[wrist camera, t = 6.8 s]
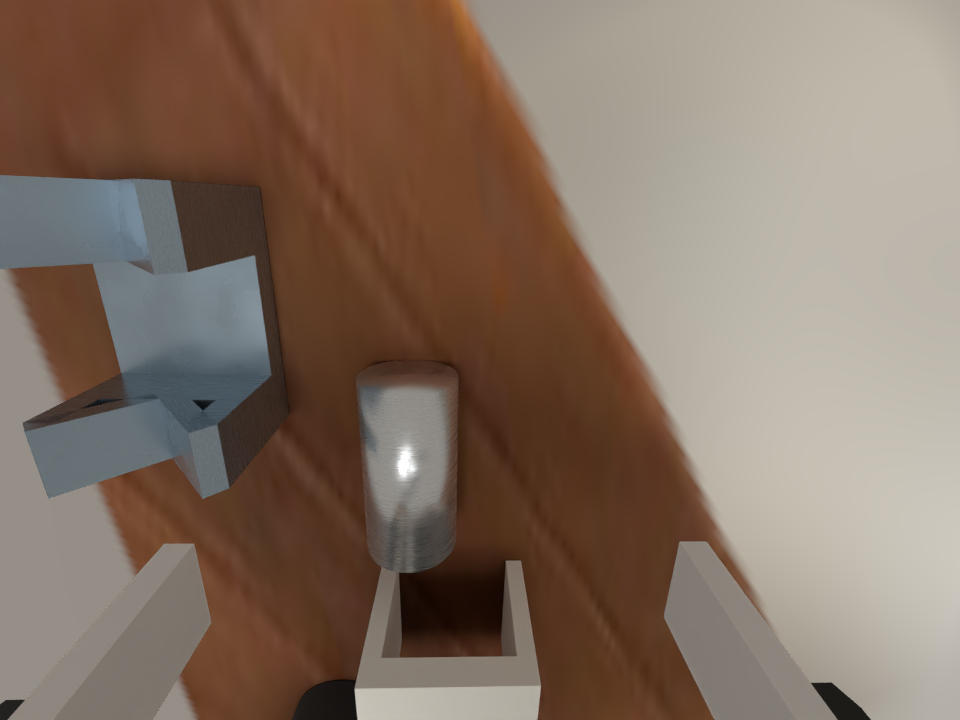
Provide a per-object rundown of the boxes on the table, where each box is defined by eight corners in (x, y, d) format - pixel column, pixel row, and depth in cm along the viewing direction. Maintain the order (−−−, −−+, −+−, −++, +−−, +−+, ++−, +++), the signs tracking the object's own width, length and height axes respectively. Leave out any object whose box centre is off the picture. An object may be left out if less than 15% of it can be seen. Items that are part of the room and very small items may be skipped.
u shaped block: (514, 638, 31) (531, 775, 24) (387, 639, 31) (363, 779, 24) (521, 560, 29) (540, 685, 22) (383, 560, 29) (354, 688, 21)
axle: (473, 545, 25) (393, 588, 22) (426, 499, 29) (353, 531, 26) (478, 381, 22) (385, 406, 19) (424, 353, 25) (339, 371, 22)
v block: (289, 415, 25) (220, 498, 18) (154, 413, 25) (30, 498, 18) (260, 187, 21) (156, 179, 14) (97, 181, 21) (-93, 171, 14)
